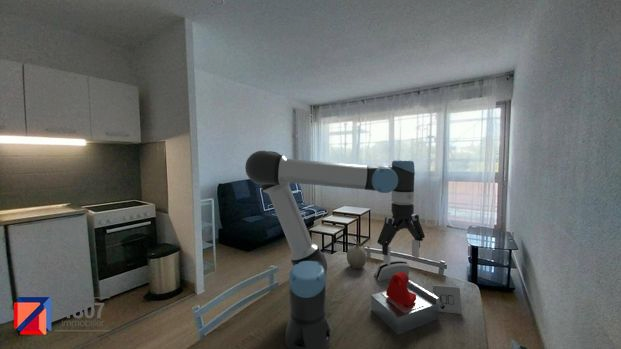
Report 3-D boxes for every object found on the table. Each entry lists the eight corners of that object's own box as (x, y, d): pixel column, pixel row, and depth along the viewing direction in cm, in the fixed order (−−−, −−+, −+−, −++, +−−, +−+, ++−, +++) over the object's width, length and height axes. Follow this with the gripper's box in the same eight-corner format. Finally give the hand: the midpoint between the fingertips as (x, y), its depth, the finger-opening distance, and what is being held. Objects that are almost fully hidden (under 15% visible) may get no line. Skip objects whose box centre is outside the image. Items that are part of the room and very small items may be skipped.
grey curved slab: (402, 271, 120) (406, 256, 116) (408, 278, 115) (412, 263, 112) (373, 275, 116) (376, 260, 112) (377, 283, 111) (381, 267, 108)
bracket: (417, 300, 84) (417, 274, 84) (408, 308, 80) (409, 280, 80) (395, 290, 91) (395, 266, 91) (386, 297, 87) (386, 271, 86)
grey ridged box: (397, 335, 76) (397, 311, 76) (371, 310, 89) (371, 290, 89) (438, 319, 84) (438, 297, 83) (408, 298, 97) (408, 279, 96)
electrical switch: (434, 312, 88) (434, 287, 88) (430, 305, 93) (430, 281, 93) (462, 315, 86) (461, 289, 86) (456, 307, 91) (456, 283, 91)
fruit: (364, 274, 117) (364, 245, 116) (343, 269, 123) (343, 241, 122) (370, 266, 126) (370, 239, 125) (351, 261, 132) (350, 235, 131)
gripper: (381, 207, 75) (381, 270, 77) (436, 201, 85) (434, 258, 86) (367, 203, 82) (367, 261, 84) (419, 198, 92) (418, 250, 93)
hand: (401, 260), depth 85 cm, fingers open, 13 cm apart
